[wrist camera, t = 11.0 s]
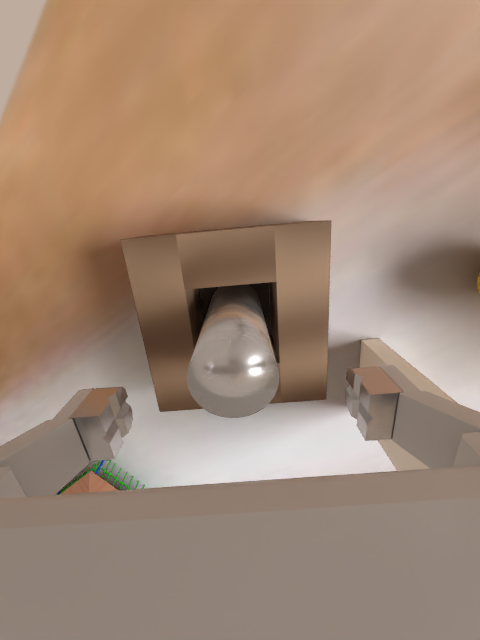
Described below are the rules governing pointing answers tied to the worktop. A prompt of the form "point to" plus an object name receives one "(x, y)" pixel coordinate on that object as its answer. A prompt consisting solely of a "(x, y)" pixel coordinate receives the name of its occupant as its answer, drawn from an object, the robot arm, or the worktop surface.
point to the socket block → (226, 270)
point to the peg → (233, 356)
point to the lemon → (478, 283)
